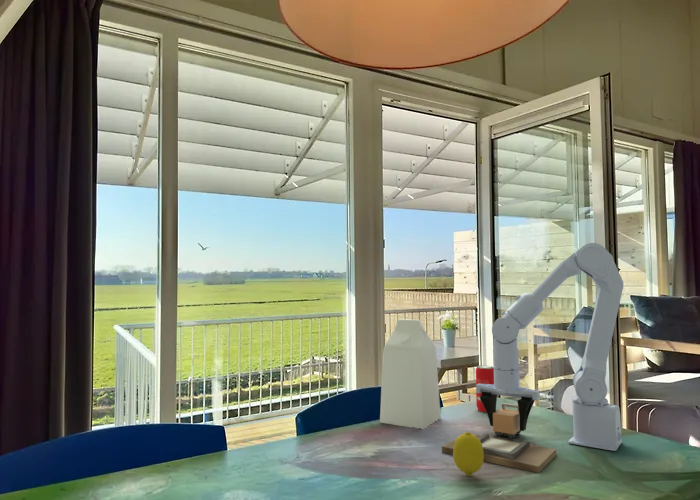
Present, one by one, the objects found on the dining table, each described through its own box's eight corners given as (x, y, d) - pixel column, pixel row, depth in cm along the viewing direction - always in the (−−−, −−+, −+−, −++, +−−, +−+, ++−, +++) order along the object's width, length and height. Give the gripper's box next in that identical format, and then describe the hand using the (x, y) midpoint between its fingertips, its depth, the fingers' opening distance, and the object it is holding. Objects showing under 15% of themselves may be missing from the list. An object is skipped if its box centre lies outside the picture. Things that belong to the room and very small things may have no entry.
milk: (440, 418, 135) (438, 319, 136) (423, 429, 125) (421, 322, 126) (399, 412, 141) (398, 317, 142) (379, 422, 131) (378, 320, 133)
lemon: (482, 483, 91) (481, 437, 91) (451, 479, 93) (450, 434, 93) (485, 472, 96) (484, 429, 97) (455, 469, 98) (455, 426, 98)
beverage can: (472, 409, 144) (471, 366, 144) (487, 407, 146) (486, 364, 146) (484, 413, 139) (483, 368, 140) (499, 411, 141) (498, 367, 142)
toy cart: (502, 430, 123) (501, 402, 124) (522, 433, 120) (521, 405, 121) (493, 436, 118) (492, 407, 119) (513, 439, 116) (513, 410, 116)
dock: (556, 455, 105) (556, 444, 105) (538, 472, 96) (538, 460, 96) (465, 438, 117) (465, 428, 117) (441, 452, 108) (441, 441, 108)
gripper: (470, 368, 121) (471, 426, 121) (532, 374, 113) (533, 437, 112) (482, 364, 127) (483, 419, 126) (541, 369, 118) (543, 429, 118)
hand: (507, 427), depth 119 cm, fingers open, 6 cm apart
